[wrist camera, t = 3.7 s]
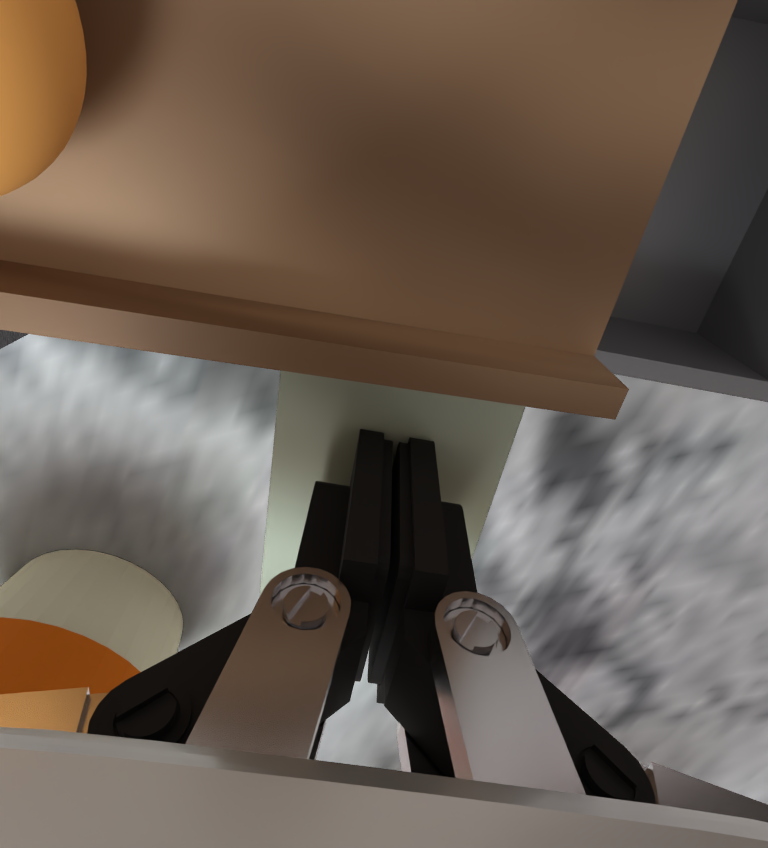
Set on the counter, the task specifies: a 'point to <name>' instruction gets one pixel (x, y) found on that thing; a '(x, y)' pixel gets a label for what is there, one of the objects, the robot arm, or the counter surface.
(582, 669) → the counter surface
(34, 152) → the ball
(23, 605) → the reusable coffee cup
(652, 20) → the wooden tilting tray
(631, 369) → the bin
